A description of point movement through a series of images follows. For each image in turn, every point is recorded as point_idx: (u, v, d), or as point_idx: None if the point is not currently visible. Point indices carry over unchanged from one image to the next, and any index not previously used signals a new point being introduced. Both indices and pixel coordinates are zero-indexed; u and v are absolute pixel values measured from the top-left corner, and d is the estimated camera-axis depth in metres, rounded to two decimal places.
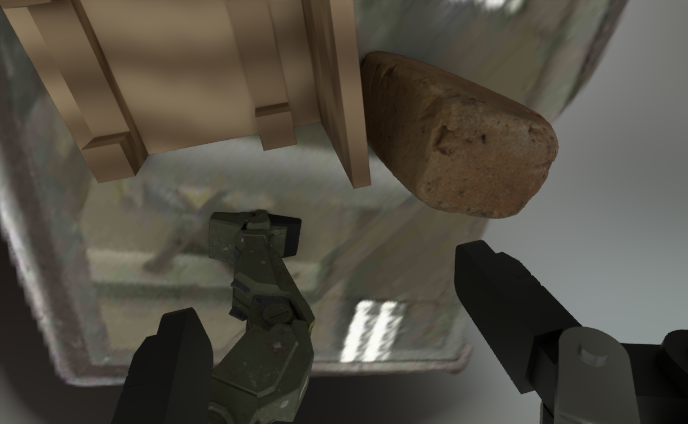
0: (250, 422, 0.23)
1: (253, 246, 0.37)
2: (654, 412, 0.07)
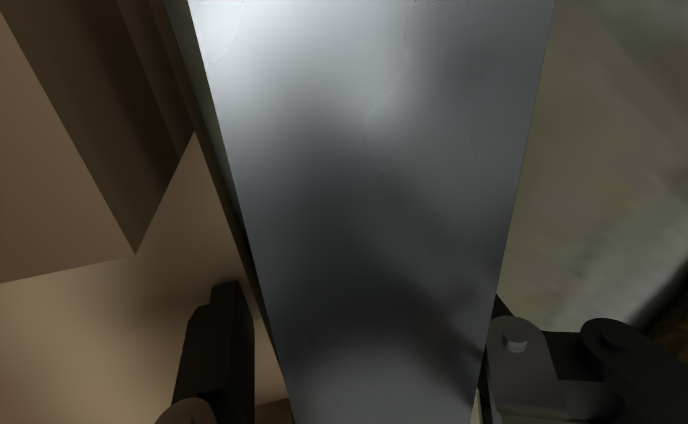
0: None
1: None
2: (571, 395, 0.08)
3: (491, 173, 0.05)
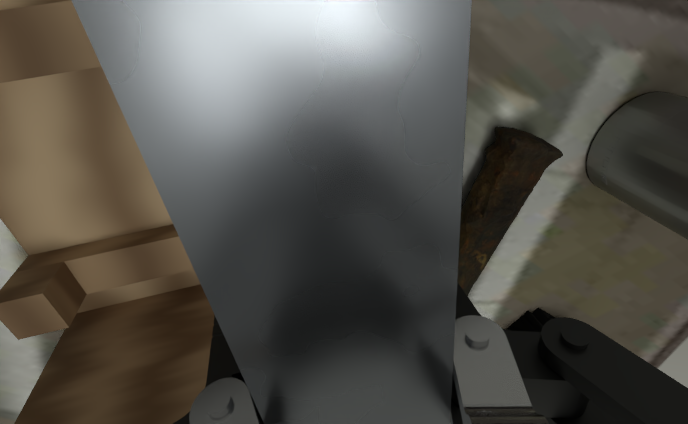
0: None
1: None
2: (531, 393, 0.08)
3: (432, 174, 0.05)
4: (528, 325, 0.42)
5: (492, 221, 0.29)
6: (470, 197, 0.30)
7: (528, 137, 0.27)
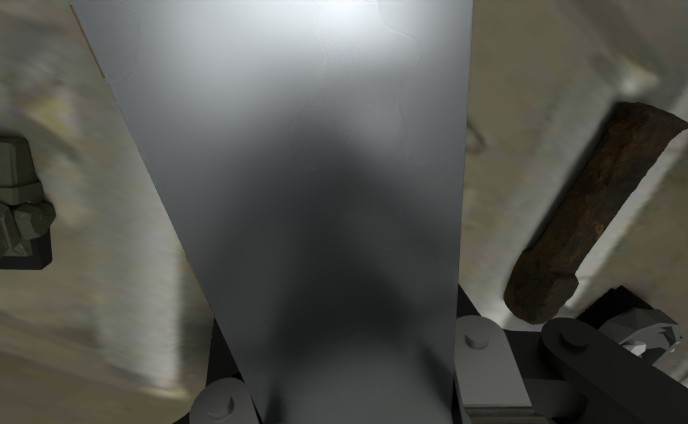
0: None
1: None
2: (531, 393, 0.08)
3: (433, 174, 0.05)
4: (613, 302, 0.44)
5: (616, 191, 0.31)
6: (590, 170, 0.32)
7: (658, 109, 0.28)
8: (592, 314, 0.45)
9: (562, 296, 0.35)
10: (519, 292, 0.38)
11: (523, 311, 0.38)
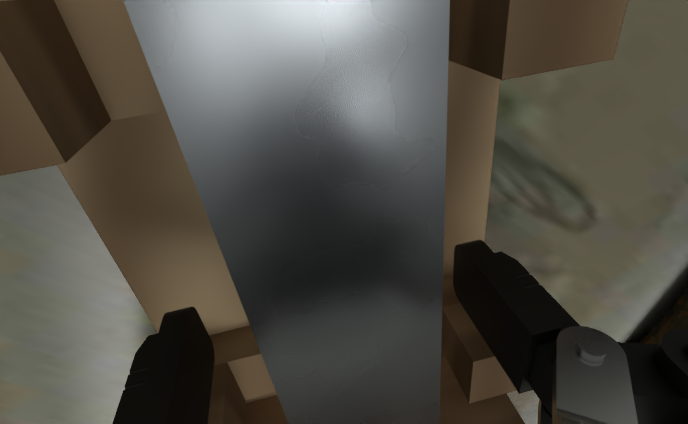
0: None
1: None
2: (651, 411, 0.07)
3: (419, 149, 0.06)
4: None
5: None
6: None
7: None
8: None
9: None
10: None
11: None
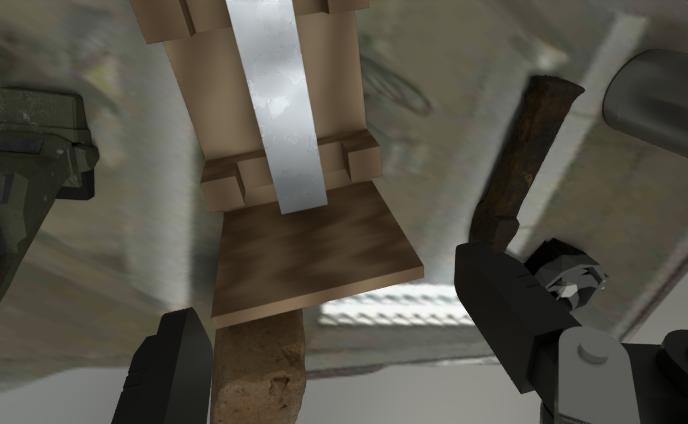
0: None
1: (57, 171, 0.29)
2: (654, 412, 0.07)
3: (288, 23, 0.24)
4: (546, 252, 0.52)
5: (535, 146, 0.39)
6: (516, 132, 0.40)
7: (557, 79, 0.37)
8: (531, 264, 0.54)
9: (507, 235, 0.44)
10: (476, 236, 0.47)
11: None
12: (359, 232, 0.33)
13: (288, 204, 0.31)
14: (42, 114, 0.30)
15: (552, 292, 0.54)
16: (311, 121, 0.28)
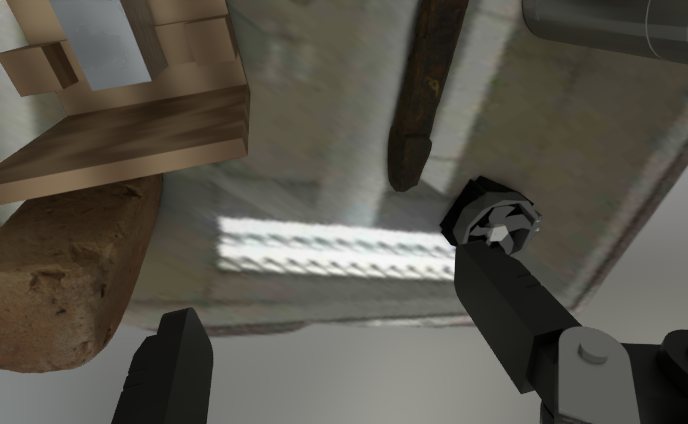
0: None
1: None
2: (654, 412, 0.07)
3: None
4: (470, 191, 0.46)
5: (434, 42, 0.33)
6: (416, 30, 0.35)
7: None
8: (457, 207, 0.48)
9: (418, 157, 0.38)
10: (391, 164, 0.41)
11: (396, 181, 0.41)
12: (196, 119, 0.27)
13: (98, 77, 0.25)
14: None
15: (483, 238, 0.49)
16: None
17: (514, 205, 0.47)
